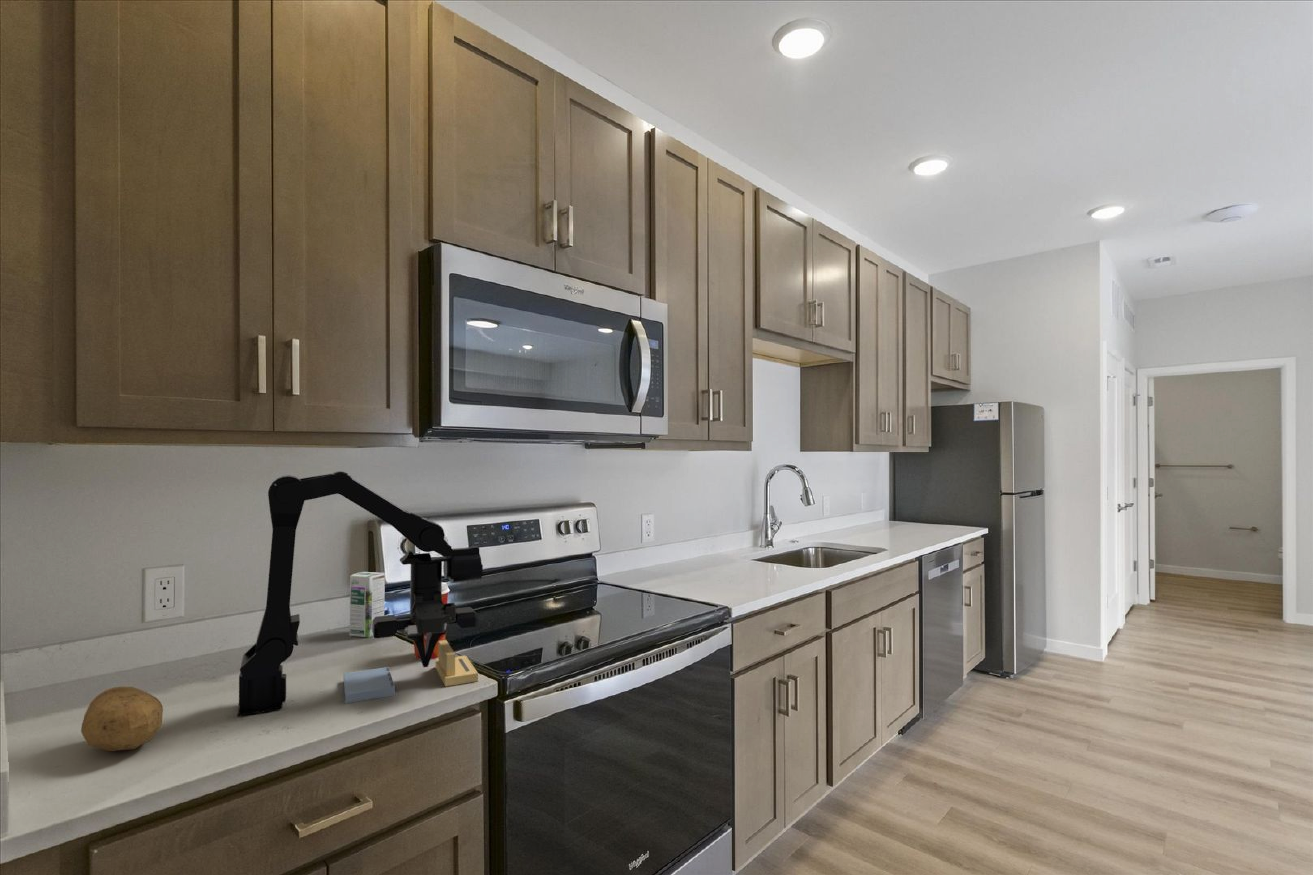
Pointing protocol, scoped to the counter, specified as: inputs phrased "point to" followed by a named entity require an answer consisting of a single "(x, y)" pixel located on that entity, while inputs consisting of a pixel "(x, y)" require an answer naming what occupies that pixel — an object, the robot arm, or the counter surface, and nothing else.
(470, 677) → the stub
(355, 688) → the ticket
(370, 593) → the syrup box
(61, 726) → the counter surface
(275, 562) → the robot arm
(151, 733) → the potato
